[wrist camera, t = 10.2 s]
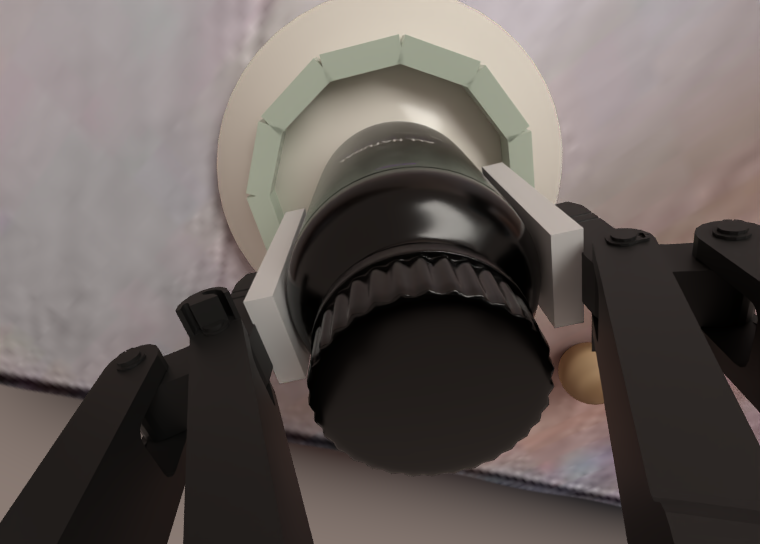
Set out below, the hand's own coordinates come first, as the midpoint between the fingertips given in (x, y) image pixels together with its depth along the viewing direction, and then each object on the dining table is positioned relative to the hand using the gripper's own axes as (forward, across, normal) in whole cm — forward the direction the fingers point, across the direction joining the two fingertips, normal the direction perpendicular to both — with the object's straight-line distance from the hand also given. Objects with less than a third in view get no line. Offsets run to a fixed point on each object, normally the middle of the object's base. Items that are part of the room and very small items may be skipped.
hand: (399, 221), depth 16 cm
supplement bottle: (+3, 0, 0) cm, 3 cm away
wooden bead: (+5, +9, -13) cm, 17 cm away
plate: (+5, 0, 0) cm, 5 cm away
